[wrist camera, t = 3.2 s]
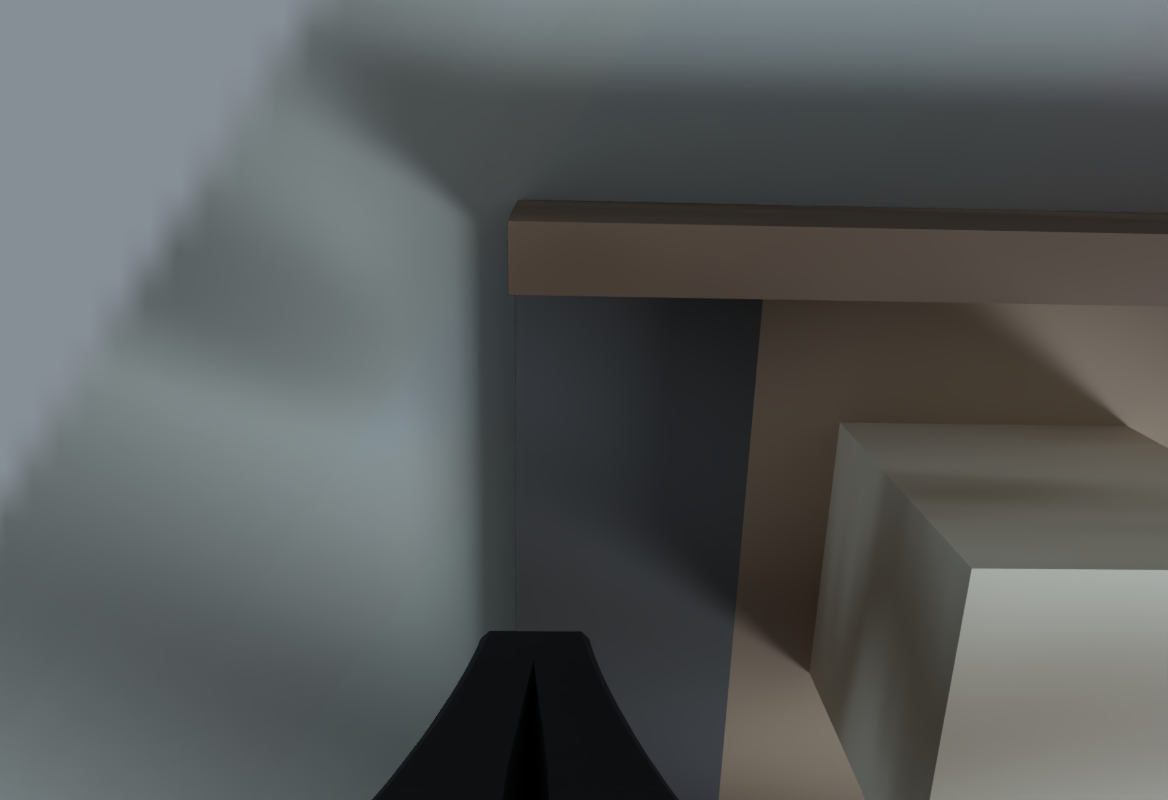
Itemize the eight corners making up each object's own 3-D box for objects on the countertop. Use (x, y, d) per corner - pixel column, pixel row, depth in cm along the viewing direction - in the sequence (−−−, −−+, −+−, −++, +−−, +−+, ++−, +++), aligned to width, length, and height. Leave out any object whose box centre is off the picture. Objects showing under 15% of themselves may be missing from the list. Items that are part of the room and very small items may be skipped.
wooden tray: (1511, 924, 20) (1668, 1058, 17) (518, 930, 19) (511, 1070, 17) (1836, 227, 15) (2132, 253, 12) (517, 199, 14) (507, 221, 12)
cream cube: (1070, 674, 17) (1276, 900, 12) (809, 672, 16) (910, 902, 12) (1127, 426, 15) (1392, 571, 10) (839, 422, 15) (971, 568, 10)
